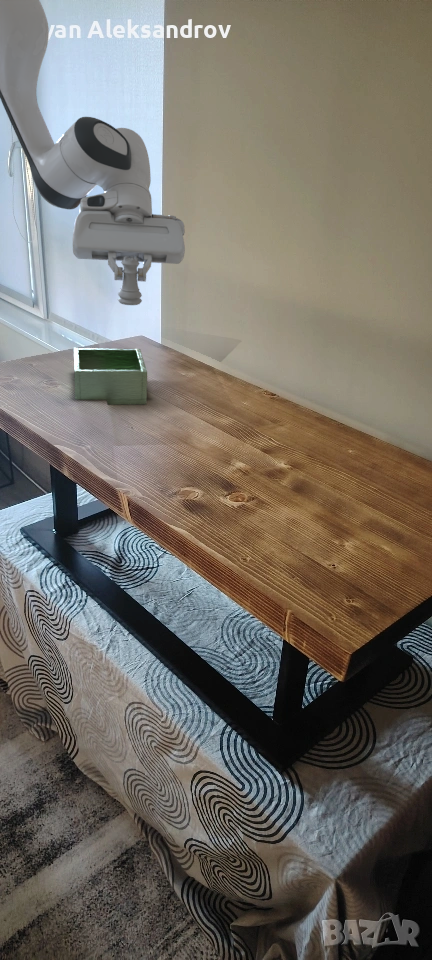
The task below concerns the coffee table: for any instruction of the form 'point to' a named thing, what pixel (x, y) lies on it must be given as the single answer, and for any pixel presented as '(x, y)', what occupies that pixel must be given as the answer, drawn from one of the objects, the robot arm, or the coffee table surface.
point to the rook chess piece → (130, 282)
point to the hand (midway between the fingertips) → (130, 279)
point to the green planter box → (110, 375)
